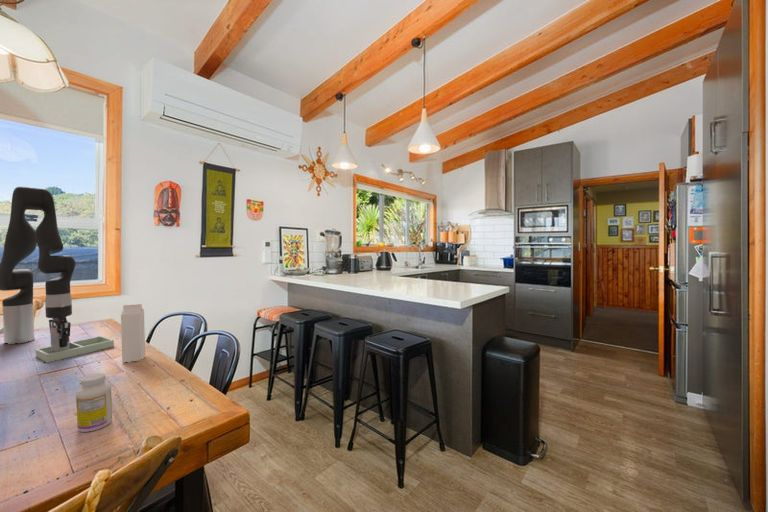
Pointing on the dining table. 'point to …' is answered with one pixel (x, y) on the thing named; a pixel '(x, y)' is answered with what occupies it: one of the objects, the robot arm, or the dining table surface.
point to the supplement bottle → (93, 403)
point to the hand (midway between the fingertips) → (60, 345)
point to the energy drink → (57, 341)
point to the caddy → (75, 348)
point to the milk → (132, 333)
